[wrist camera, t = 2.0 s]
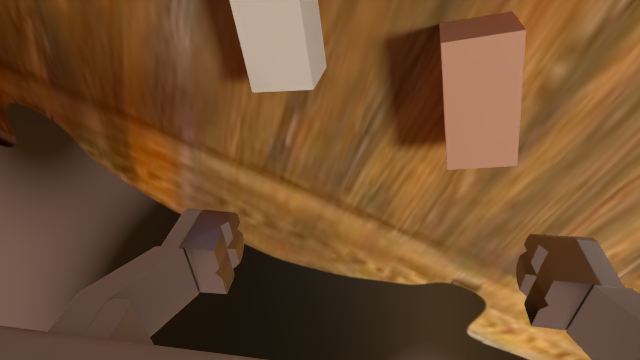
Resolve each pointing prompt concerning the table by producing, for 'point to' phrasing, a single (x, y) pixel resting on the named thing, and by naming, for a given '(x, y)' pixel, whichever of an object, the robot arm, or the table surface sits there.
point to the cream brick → (280, 43)
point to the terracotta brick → (482, 90)
